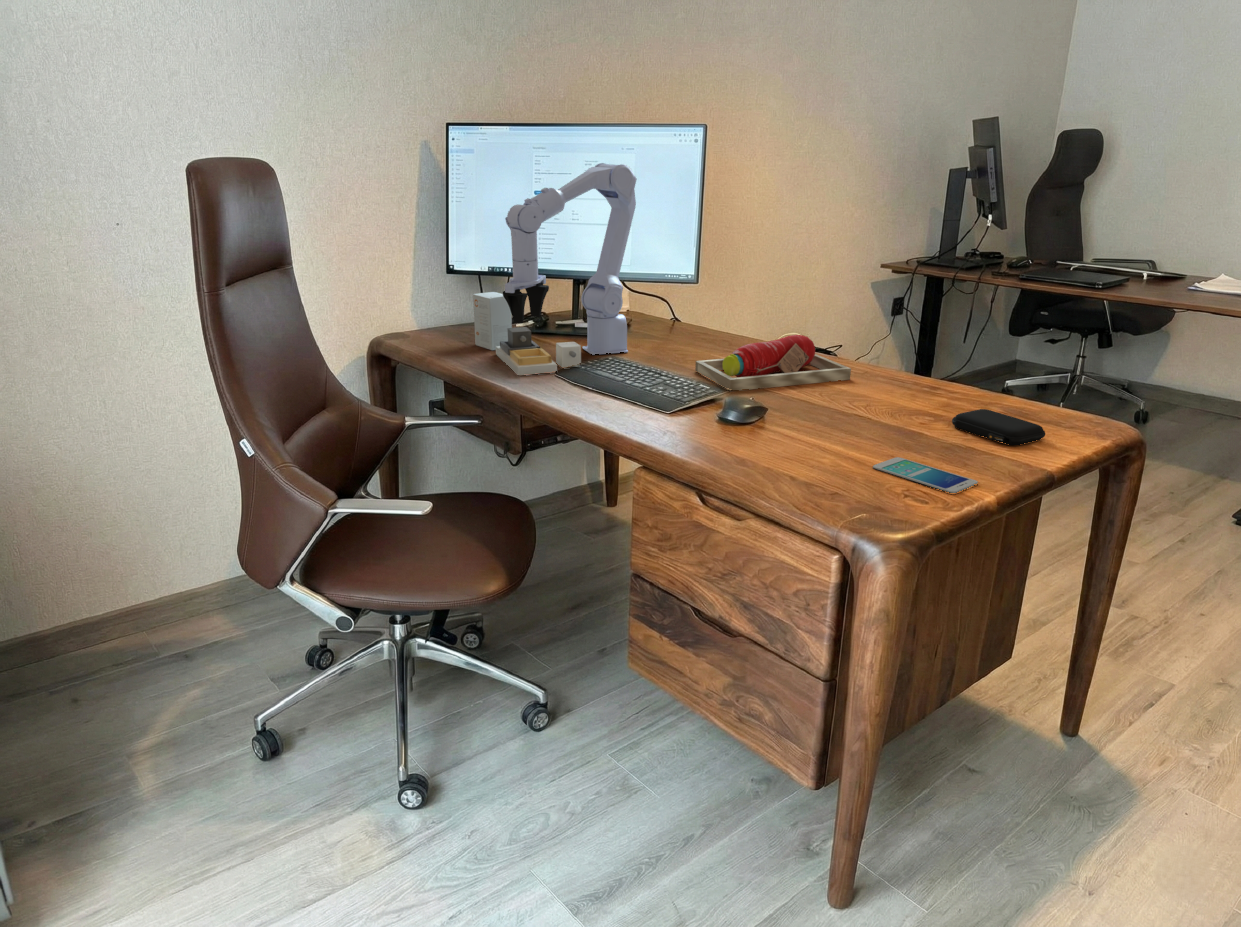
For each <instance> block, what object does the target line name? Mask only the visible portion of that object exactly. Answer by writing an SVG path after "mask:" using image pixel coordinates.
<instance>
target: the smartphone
mask: <svg viewBox="0 0 1241 927" xmlns="http://www.w3.org/2000/svg"><path fill="white" fill-rule="evenodd" d="M872 469H873V470H875V471H878V472H881V473H884V474H887V475H890V476H893V477H896V478H900V479H903V480H905V481H908V482H912V483H915V484H917V483H918V485H920V484H921V485H920V486H923V487H926V486H927V488H930V487H931V488H930V489H933V488H935V489H934V490H936V489H939V490H942V491H946V492H949V493H957V492H959V491H962V490H964V489H967V488H969V487H971V486H974V484H977V483H978V484H979V482H978V480H975V479H972V478H969V477H966V476H963V475H959V474H956V473H953V472H950V471H946V470H943V469H939V468H936V467H933V466H929V465H926V464H923V463H920V462H917V461H914V460H910V459H907V458H903V457H898V456H897V457H893V458H889V459H887V460H884V461H881V462H878V463H876V464H874V465H873V466H872ZM939 490H938V491H939ZM942 491H941V492H942Z"/></svg>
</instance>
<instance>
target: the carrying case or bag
mask: <svg viewBox="0 0 1241 927" xmlns="http://www.w3.org/2000/svg"><path fill="white" fill-rule="evenodd" d="M951 423H952V425H954V428H956V429H957V428H958V430H960V429H961V431H963V432H966V431H967V432H966V433H969V432H970V433H969V434H972V433H973V434H972V435H975V434H976V435H975V436H978V435H980V436H979V437H981V436H984V437H987V438H988V439H987V438H986V439H987V440H990V441H993V440H996V441H999V442H1003V443H1006V444H1009V445H1019V446H1021V445H1020V444H1023V445H1025V444H1024V443H1028V442H1032V441H1036V440H1039V441H1041V440H1042V439H1043V438H1045V436H1046V431H1045V430H1044V428H1043V427H1042V426H1041V425H1039V424H1038V423H1033V422H1031V421H1027V420H1025V419H1022V418H1021V419H1020V418H1017V417H1015V416H1011V415H1008V414H1004V413H1001V412H998V411H994V410H990V409H986V408H980V409H975V410H969V411H965V412H961V413H958V414H956V415H955V416H954V417H953V418H952V419H951ZM984 437H983V438H984ZM1041 438H1042V439H1041ZM1040 439H1041V440H1040ZM996 441H995V442H996ZM999 442H998V443H999ZM1036 442H1037V441H1036ZM1032 443H1033V442H1032ZM1028 444H1029V443H1028ZM1009 445H1008V446H1009Z"/></svg>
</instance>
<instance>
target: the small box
mask: <svg viewBox="0 0 1241 927" xmlns="http://www.w3.org/2000/svg"><path fill="white" fill-rule="evenodd" d="M472 302H473V319H474V320H473V321H474V322H473V323H474V340H475V342H474V343H475V346H477V347H481V348H483V349H487V350H489V351H496V346H500V341H508V329H507V328H513V326H512V325H513V317H512V314H511V311H510V308H509V305H508V303H507V301H506V300H505V298H504V297H503V293H500V292H496V291H488V292H481V293H480V292H479V293H473V294H472Z"/></svg>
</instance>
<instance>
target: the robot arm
mask: <svg viewBox="0 0 1241 927" xmlns="http://www.w3.org/2000/svg"><path fill="white" fill-rule="evenodd" d="M636 184H637V176H636V175H635V174H634V172H633V170H632V168H631V167H630V166H628V165H627V164H624V163H623V164H622V163H621V164H611V163H606V162H605V163H604V162H601V163H597V164H596V165H594V166H591V167H588V169H587V170H585V171H583V173H581V174H580V175H578V176H577V177H575V178H573V179H572V180H570V181H569V182H567V183H566V184H564V185H562V186H561V187H559V188H558V189H556V188H554V187H544V188H542V189H540V193H539V194H537V195H534V196H533V197H531V198H526V199H524V203H523V204H517V203H516V204H514V205H513V206H511V207H510V208H509V210H508V211H507V215H506V217H505V218H504V219H505V223H506V225H507V227H508V228H509V229H510V237H511V239H510V240H511V259H512V263H511V264H512V277H510V278H509V280H508V282H507V283H504V291H502V294H503V297H504V298H505V300H506V301H507V303H508V305H509V308H510V311H511V317H512V322H513V323H515V324H516V323H517V324H524V320H525V308H526V307H525V305H526V300H527V299H528V303H529V311H530V316H531V317H534V318H540V317H541V315H542V310H543V305H544V302H545V298H546V295H547V294H548V292H549V290H550V286H549V285H548V284H547V278H546V277H547V276H546V275H544V274H539V260H538V257H539V256H538V230H539V229H540V228H541V226H542V224H543V223H544V222H546V221H548V220H549V219H551V218H553V217H554V216H556V215H558V214H559V213H562V212H563V211H564V209H565V205H566V204H567V203H568V202H570V201H572V200H573V199H576V198H578V197H580V196H582V195H583V194H585V193H587V192H589V191H591V190H596V191H597V192H598V193H599V194H600V195H601V196H602V197H603V198H605V199H606V201H607V203H608V205H610V207H611V209H610V214H609V217H608V221H607V226H606V230H605V234H604V235H605V236H604V238H603V243H602V246H601V247H602V248H601V251H600V256H599V260H598V263H597V268H596V272H595V273H594V274H593V275H592V276H590V277H589V279H588V281H587V285H586V287H585V289H584V290H583V291H582V294H581V304H582V306H583V307H584V308H583V309H585V311H586V318H587V319H586V322H587V323H586V324H587V325H586V327H587V332H586V333H587V334H586V335H587V336H586V337H587V342H586V343H587V345H583V346H581V347H582V348H581V349H583V350H584V351H586V352H587V353H589V355H591V354H592V355H591V356H596V355H595V354H599V355H610V354H609V353H611V354H620V352H624V353H629V350H628V325H627V324H628V323H627V319H626V316H625V315H624V314H621V313H619V312H620V311H621V310H622V308H623V303H624V301H623V300H624V299H623V290H624V287H623V284H622V283H621V281H620V279H619V277H620V274H621V273H620V272H621V268H622V265H623V260H624V256H625V253H626V252H625V251H626V248H627V244H628V240H629V235H630V233H631V232H630V231H631V227H632V223H633V219H634V215H635V211H636V207H637V206H636V204H637V201H636V192H635V191H636V190H635V188H636ZM546 284H547V285H546ZM524 289H525V291H526V293H525V292H523V291H522V290H524ZM606 353H608V354H606Z"/></svg>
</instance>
